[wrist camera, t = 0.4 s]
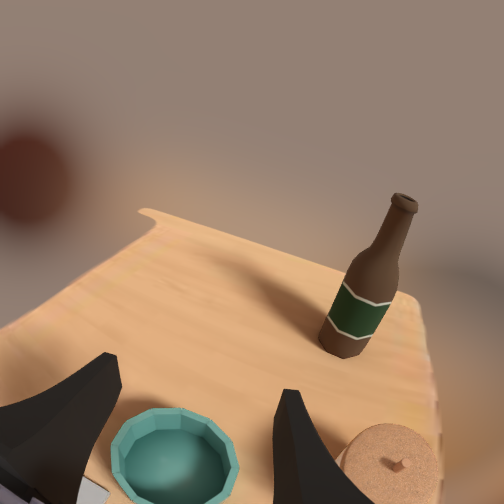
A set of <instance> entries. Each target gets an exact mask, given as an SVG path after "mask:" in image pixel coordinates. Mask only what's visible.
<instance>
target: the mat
mask: <svg viewBox="0 0 504 504" xmlns="http://www.w3.org/2000/svg"><path fill="white" fill-rule="evenodd" d="M109 495H110V492H108V491H106V490H105V489H103V488H101V487H100V486H98V485H96V484H95V483H93V482H91V481H90V480H88V479H87V478H85V477H83V478H82V481H81V485H80V489H79V493H78V498H77V503H76V504H105V502H106V500H107V499H108V497H109Z"/></svg>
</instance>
